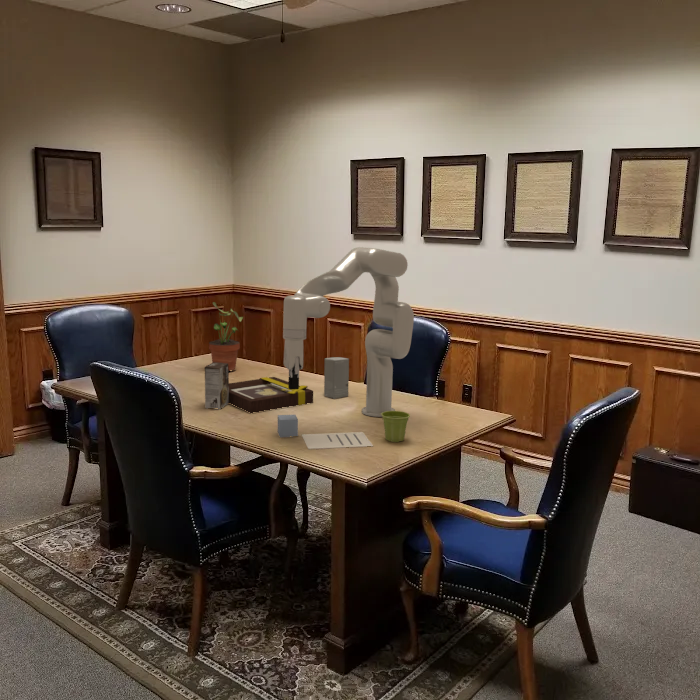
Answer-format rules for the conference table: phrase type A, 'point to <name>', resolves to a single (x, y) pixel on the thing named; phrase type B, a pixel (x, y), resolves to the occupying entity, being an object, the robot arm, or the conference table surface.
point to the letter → (336, 440)
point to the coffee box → (216, 385)
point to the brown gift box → (267, 394)
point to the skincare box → (336, 377)
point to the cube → (287, 425)
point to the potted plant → (225, 344)
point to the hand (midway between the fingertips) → (293, 388)
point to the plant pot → (395, 425)
